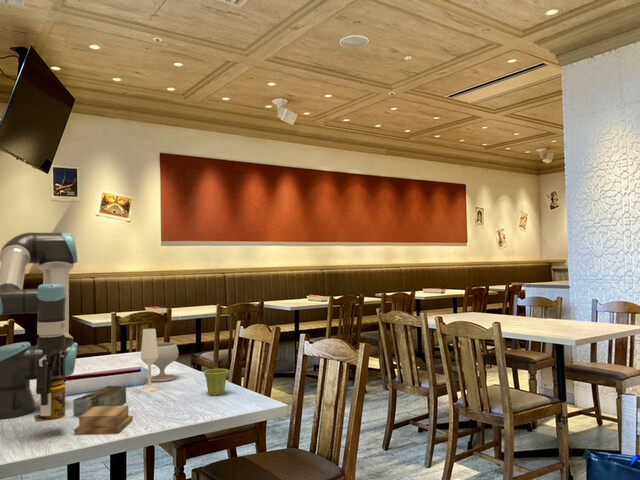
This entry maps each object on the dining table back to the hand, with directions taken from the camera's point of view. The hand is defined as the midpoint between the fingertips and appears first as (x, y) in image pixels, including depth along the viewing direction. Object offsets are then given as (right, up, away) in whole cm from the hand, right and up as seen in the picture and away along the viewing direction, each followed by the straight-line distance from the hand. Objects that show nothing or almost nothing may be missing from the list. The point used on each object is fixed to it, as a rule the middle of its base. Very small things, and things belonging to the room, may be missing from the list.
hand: (51, 411), depth 160 cm
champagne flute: (+13, -8, +53) cm, 55 cm away
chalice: (+12, -9, +72) cm, 73 cm away
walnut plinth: (+14, -6, +5) cm, 16 cm away
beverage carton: (+5, -8, +25) cm, 27 cm away
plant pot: (+41, -8, +44) cm, 61 cm away
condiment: (0, -2, 0) cm, 2 cm away
